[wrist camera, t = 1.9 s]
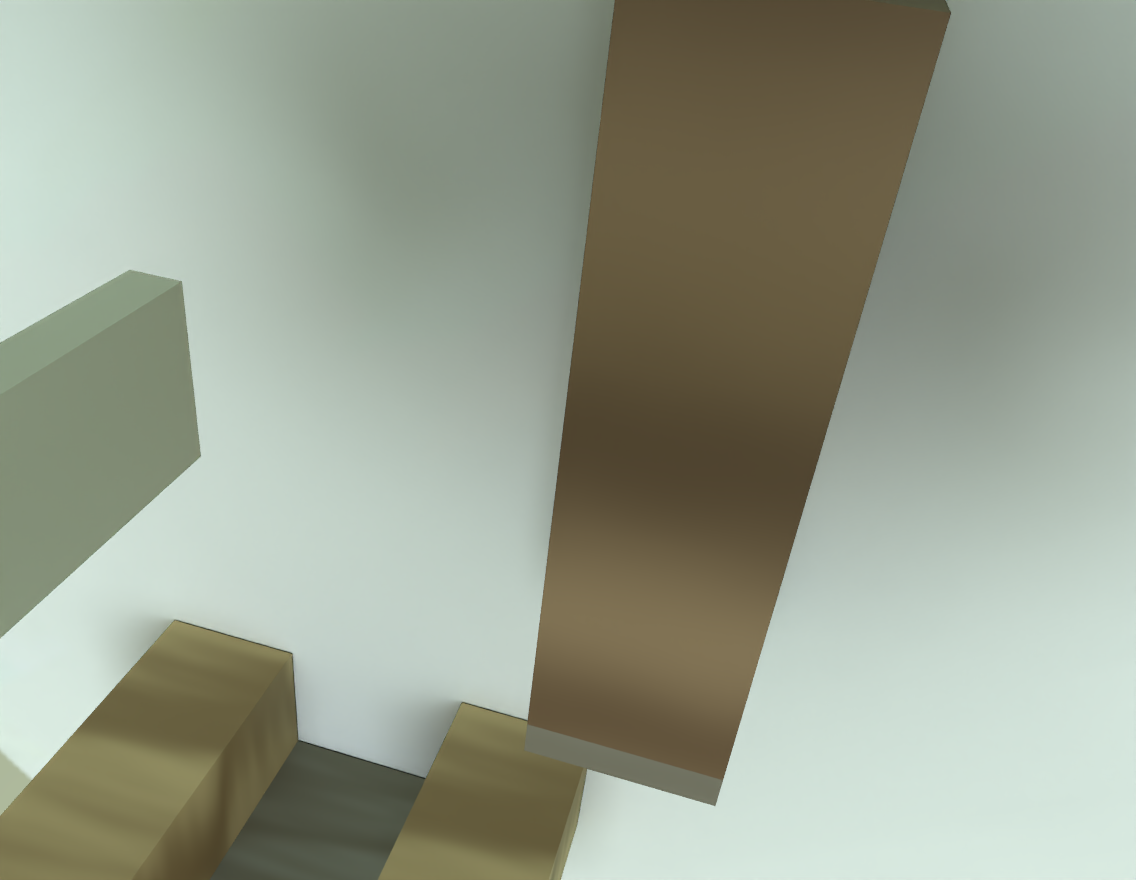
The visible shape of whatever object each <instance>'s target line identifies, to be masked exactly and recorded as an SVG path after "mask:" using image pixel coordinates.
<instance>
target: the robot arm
mask: <svg viewBox="0 0 1136 880" xmlns="http://www.w3.org/2000/svg"><path fill="white" fill-rule="evenodd" d="M199 457H201V453H200V444H199V435H198V426H197V417H196V407H195V398H194V389H193V380H192V371H191V361H190V352H189V343H188V334H187V325H186V315H185V306H184V297H183V288H182V281H178V280H173V279H169V278H164V277H160V276H155V275H151V274H146V273H142V272H137V271H132V270H128V271H127V272H125V273H123V274H121V275H120V276H118V277H116V278H114V279H113V280H111V281H109V282H107V283H105V284H104V285H102V286H100V287H98V288H97V289H95V290H93V291H91V292H89V293H88V294H86V295H84V296H82V297H81V298H79V299H77V300H75V301H74V302H72V303H70V304H68V305H66V306H65V307H63V308H61V309H59V310H58V311H56V312H54V313H52V314H50V315H49V316H47V317H45V318H43V319H42V320H40V321H38V322H36V323H35V324H33V325H31V326H29V327H27V328H26V329H24V330H22V331H20V332H19V333H17V334H15V335H13V336H11V337H10V338H8V339H6V340H4V341H3V342H1V343H0V638H1V637H2V636H3V635H4V634H5V633H7V632H8V631H9V630H10V629H11V628H12V627H13V626H14V625H15V624H16V623H18V622H19V621H20V620H21V619H22V618H23V617H24V616H25V615H26V614H28V613H29V612H30V611H31V610H32V609H33V608H34V607H35V606H36V605H37V604H39V603H40V602H41V601H42V600H43V599H44V598H45V597H46V596H47V595H48V594H50V593H51V592H52V591H53V590H54V589H55V588H56V587H57V586H58V585H59V584H61V583H62V582H63V581H64V580H65V579H66V578H67V577H68V576H69V575H70V574H72V573H73V572H74V571H75V570H76V569H77V568H78V567H79V566H80V565H82V564H83V563H84V562H85V561H86V560H87V559H88V558H89V557H90V556H91V555H93V554H94V553H95V552H96V551H97V550H98V549H99V548H100V547H101V546H102V545H104V544H105V543H106V542H107V541H108V540H109V539H110V538H111V537H112V536H113V535H115V534H116V533H117V532H118V531H119V530H120V529H121V528H122V527H123V526H125V525H126V524H127V523H128V522H129V521H130V520H131V519H132V518H133V517H134V516H136V515H137V514H138V513H139V512H140V511H141V510H142V509H143V508H144V507H145V506H147V505H148V504H149V503H150V502H151V501H152V500H153V499H154V498H155V497H156V496H158V495H159V494H160V493H161V492H162V491H163V490H164V489H165V488H166V487H167V486H169V485H170V484H171V483H172V482H173V481H174V480H175V479H176V478H177V477H179V476H180V475H181V474H182V473H183V472H184V471H185V470H186V469H187V468H188V467H190V466H191V465H192V464H193V463H194V462H195V461H196V460H197V459H198V458H199Z"/></svg>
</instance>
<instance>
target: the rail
mask: <svg viewBox="0 0 1136 880" xmlns="http://www.w3.org/2000/svg"><path fill="white" fill-rule="evenodd" d="M950 14H951V12H950V10H949V7H948V5H947V3H946V0H615V4H614V12H613V20H612V29H611V37H610V45H609V53H608V62H607V70H606V78H605V87H604V95H603V103H602V111H601V120H600V128H599V136H598V144H597V153H596V161H595V169H594V177H593V186H592V194H591V202H590V210H589V219H588V227H587V235H586V243H585V252H584V260H583V268H582V277H581V285H580V293H579V301H578V310H577V318H576V326H575V334H574V343H573V351H572V359H571V367H570V376H569V384H568V392H567V400H566V409H565V417H564V425H563V433H562V442H561V450H560V458H559V467H558V475H557V483H556V491H555V500H554V508H553V516H552V524H551V533H550V541H549V549H548V557H547V566H546V574H545V582H544V590H543V599H542V607H541V615H540V623H539V632H538V640H537V648H536V657H535V665H534V673H533V681H532V690H531V698H530V706H529V714H528V723H527V731H526V739H525V747H524V751H528V752H531V753H535V754H538V755H542V756H545V757H549V758H552V759H555V760H559V761H562V762H566V763H569V764H573V765H576V766H579V767H583V768H586V769H590V770H593V771H597V772H600V773H604V774H607V775H610V776H614V777H617V778H621V779H624V780H628V781H631V782H635V783H638V784H641V785H645V786H648V787H652V788H655V789H659V790H662V791H666V792H669V793H672V794H676V795H679V796H683V797H686V798H690V799H693V800H696V801H700V802H703V803H707V804H710V805H714V806H715V805H716V802H717V798H718V795H719V792H720V788H721V785H722V782H723V778H724V775H725V771H726V768H727V765H728V761H729V758H730V755H731V751H732V748H733V745H734V741H735V738H736V734H737V731H738V728H739V724H740V721H741V718H742V714H743V711H744V708H745V704H746V701H747V697H748V694H749V691H750V687H751V684H752V681H753V677H754V674H755V671H756V667H757V664H758V660H759V657H760V654H761V650H762V647H763V644H764V640H765V637H766V633H767V630H768V627H769V623H770V620H771V617H772V613H773V610H774V607H775V603H776V600H777V596H778V593H779V590H780V586H781V583H782V580H783V576H784V573H785V570H786V566H787V563H788V559H789V556H790V553H791V549H792V546H793V543H794V539H795V536H796V533H797V529H798V526H799V522H800V519H801V516H802V512H803V509H804V506H805V502H806V499H807V496H808V492H809V489H810V485H811V482H812V479H813V475H814V472H815V469H816V465H817V462H818V458H819V455H820V452H821V448H822V445H823V442H824V438H825V435H826V432H827V428H828V425H829V421H830V418H831V415H832V411H833V408H834V405H835V401H836V398H837V395H838V391H839V388H840V384H841V381H842V378H843V374H844V371H845V368H846V364H847V361H848V358H849V354H850V351H851V347H852V344H853V341H854V337H855V334H856V331H857V327H858V324H859V320H860V317H861V314H862V310H863V307H864V304H865V300H866V297H867V294H868V290H869V287H870V283H871V280H872V277H873V273H874V270H875V267H876V263H877V260H878V257H879V253H880V250H881V246H882V243H883V240H884V236H885V233H886V230H887V226H888V223H889V220H890V216H891V213H892V209H893V206H894V203H895V199H896V196H897V193H898V189H899V186H900V183H901V179H902V176H903V172H904V169H905V166H906V162H907V159H908V156H909V152H910V149H911V145H912V142H913V139H914V135H915V132H916V129H917V125H918V122H919V119H920V115H921V112H922V108H923V105H924V102H925V98H926V95H927V92H928V88H929V85H930V82H931V78H932V75H933V71H934V68H935V65H936V61H937V58H938V55H939V51H940V48H941V45H942V41H943V38H944V34H945V31H946V28H947V24H948V21H949V18H950Z"/></svg>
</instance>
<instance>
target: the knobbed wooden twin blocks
mask: <svg viewBox="0 0 1136 880" xmlns="http://www.w3.org/2000/svg"><path fill="white" fill-rule="evenodd" d="M527 723H528V721H524V720H521V719H517V718H514V717H510V716H507V715H503V714H500V713H496V712H493V711H489V710H486V709H482V708H479V707H475V706H472V705H468V704H465V703H462V704H461V706H460V708H459V710H458V712H457V714H456V716H455V718H454V720H453V722H452V725H451V727H450V729H449V731H448V733H447V735H446V737H445V739H444V741H443V744H442V746H441V748H440V750H439V752H438V754H437V756H436V758H435V760H434V762H433V765H432V767H431V769H430V771H429V773H428V775H427V777H426V779H423V778H420V777H416V776H413V775H410V774H406V773H403V772H400V771H396V770H393V769H390V768H386V767H383V766H380V765H376V764H373V763H370V762H367V761H363V760H360V759H357V758H353V757H350V756H347V755H343V754H340V753H337V752H333V751H330V750H327V749H323V748H320V747H317V746H313V745H310V744H307V743H304V742H300V741H298V735H297V720H296V706H295V691H294V677H293V662H292V654H290V653H287V652H283V651H280V650H276V649H273V648H269V647H266V646H262V645H259V644H255V643H252V642H248V641H245V640H241V639H238V638H234V637H231V636H227V635H224V634H220V633H217V632H213V631H210V630H206V629H203V628H200V627H196V626H193V625H189V624H186V623H182V622H179V621H175V620H174V621H173V622H172V624H171V625H170V626H169V627H168V628H167V629H166V630H165V631H164V633H163V634H162V635H161V636H160V637H159V638H158V639H157V640H156V642H155V643H154V644H153V645H152V646H151V647H150V648H149V649H148V651H147V652H146V653H145V654H144V655H143V656H142V657H141V658H140V660H139V661H138V662H137V663H136V664H135V665H134V666H133V667H132V669H131V670H130V671H129V672H128V673H127V674H126V675H125V676H124V678H123V679H122V680H121V681H120V682H119V683H118V684H117V685H116V686H115V688H114V689H113V690H112V691H111V692H110V693H109V694H108V695H107V697H106V698H105V699H104V700H103V701H102V702H101V703H100V704H99V706H98V707H97V708H96V709H95V710H94V711H93V712H92V713H91V715H90V716H89V717H88V718H87V719H86V720H85V721H84V722H83V724H82V725H81V726H80V727H79V728H78V729H77V730H76V731H75V733H74V734H73V735H72V736H71V737H70V738H69V739H68V740H67V742H66V743H65V744H64V745H63V746H62V747H61V748H60V749H59V750H58V752H57V753H56V754H55V755H54V756H53V757H52V758H51V759H50V761H49V762H48V763H47V764H46V765H45V766H44V767H43V768H42V770H41V771H40V772H39V773H38V774H37V775H36V776H35V777H34V779H33V780H32V781H31V782H30V783H29V784H28V785H27V786H26V788H25V789H24V790H23V791H22V792H21V793H20V794H19V795H18V797H17V798H16V799H15V800H14V801H13V802H12V803H11V805H10V806H9V807H8V808H7V809H6V810H5V811H4V812H3V813H2V814H1V816H0V880H561V877H562V873H563V870H564V867H565V863H566V860H567V857H568V853H569V850H570V847H571V843H572V840H573V837H574V833H575V830H576V827H577V822H578V817H579V811H580V806H581V800H582V794H583V789H584V783H585V778H586V772H587V769H586V768H583V767H579V766H576V765H573V764H569V763H566V762H562V761H559V760H555V759H552V758H549V757H545V756H542V755H538V754H535V753H531V752H528V751H524V747H525V739H526V731H527Z"/></svg>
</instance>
